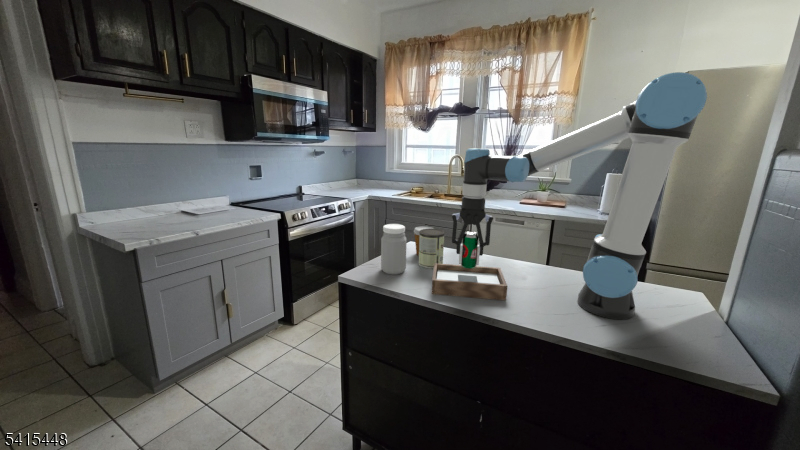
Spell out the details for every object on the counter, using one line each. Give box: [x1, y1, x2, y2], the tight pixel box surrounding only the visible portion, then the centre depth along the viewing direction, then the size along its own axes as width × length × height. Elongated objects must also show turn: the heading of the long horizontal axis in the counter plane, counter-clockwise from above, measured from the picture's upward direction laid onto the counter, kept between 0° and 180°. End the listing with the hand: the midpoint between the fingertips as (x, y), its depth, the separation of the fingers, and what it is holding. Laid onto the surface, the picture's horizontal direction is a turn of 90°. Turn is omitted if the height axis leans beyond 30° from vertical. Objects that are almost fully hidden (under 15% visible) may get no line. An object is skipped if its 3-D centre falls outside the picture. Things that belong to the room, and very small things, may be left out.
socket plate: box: [436, 270, 500, 284], centre depth 114 cm, size 21×13×3 cm, turn 81°
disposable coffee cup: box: [413, 225, 434, 257], centre depth 146 cm, size 10×10×12 cm
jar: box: [380, 223, 408, 275], centre depth 125 cm, size 10×10×18 cm
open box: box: [431, 263, 508, 301], centre depth 113 cm, size 24×16×5 cm, turn 81°
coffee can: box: [418, 228, 446, 269], centre depth 133 cm, size 10×10×14 cm
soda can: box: [460, 231, 479, 269], centre depth 111 cm, size 5×5×12 cm
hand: (468, 263), depth 112 cm, fingers closed on soda can, 5 cm apart
